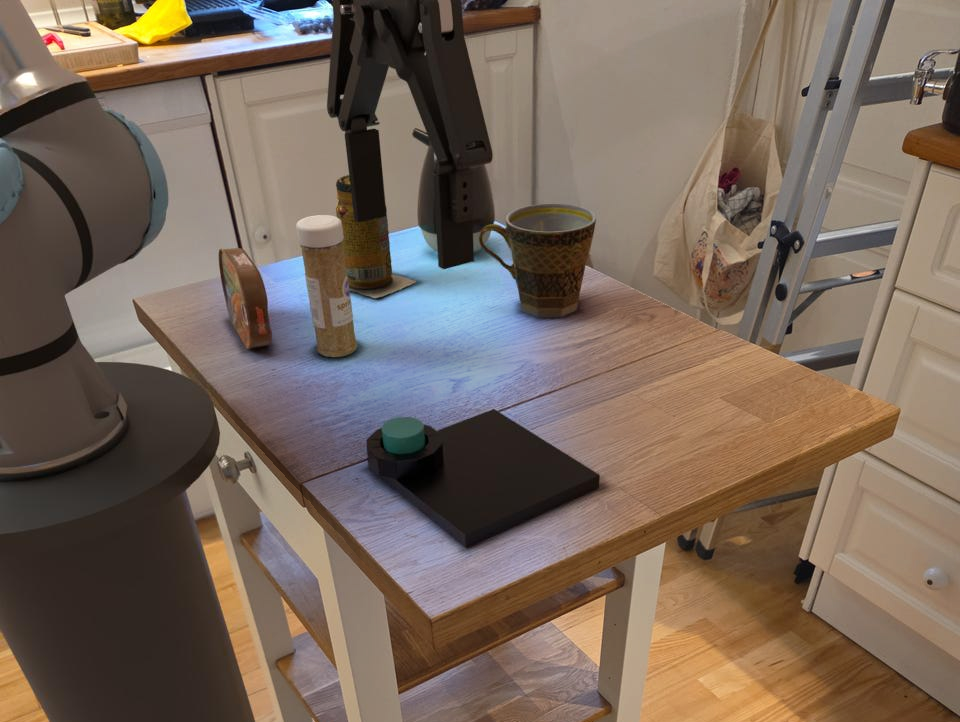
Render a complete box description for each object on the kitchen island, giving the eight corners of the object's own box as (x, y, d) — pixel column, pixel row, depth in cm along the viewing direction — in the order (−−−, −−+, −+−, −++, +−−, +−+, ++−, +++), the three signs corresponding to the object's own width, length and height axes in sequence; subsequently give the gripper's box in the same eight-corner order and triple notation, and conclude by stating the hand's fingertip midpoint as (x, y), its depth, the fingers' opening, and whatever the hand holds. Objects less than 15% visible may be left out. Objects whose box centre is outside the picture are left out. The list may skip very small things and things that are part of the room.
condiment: (371, 268, 115) (359, 167, 106) (417, 283, 110) (409, 178, 102) (328, 285, 111) (314, 181, 103) (375, 301, 106) (363, 194, 98)
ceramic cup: (588, 290, 107) (592, 201, 100) (594, 323, 100) (599, 231, 93) (481, 292, 107) (479, 204, 101) (480, 326, 100) (477, 234, 93)
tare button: (376, 443, 76) (373, 425, 75) (410, 430, 78) (409, 412, 77) (398, 460, 74) (396, 441, 73) (433, 446, 76) (432, 428, 74)
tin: (226, 312, 105) (209, 239, 99) (251, 307, 106) (236, 234, 100) (253, 362, 95) (236, 283, 89) (281, 356, 96) (266, 278, 90)
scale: (356, 468, 78) (352, 438, 76) (489, 417, 84) (488, 388, 82) (458, 551, 69) (456, 519, 67) (599, 487, 75) (601, 456, 73)
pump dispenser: (433, 235, 123) (425, 111, 113) (504, 240, 121) (503, 114, 111) (407, 260, 116) (396, 130, 106) (482, 266, 114) (478, 134, 103)
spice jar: (358, 356, 95) (341, 226, 86) (316, 360, 95) (294, 229, 86) (357, 339, 98) (340, 211, 89) (316, 342, 98) (295, 214, 89)
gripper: (549, -106, 50) (541, 274, 64) (347, -114, 65) (377, 193, 80) (436, -98, 47) (454, 299, 61) (253, -109, 62) (301, 210, 77)
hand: (410, 240), depth 70 cm, fingers open, 13 cm apart
